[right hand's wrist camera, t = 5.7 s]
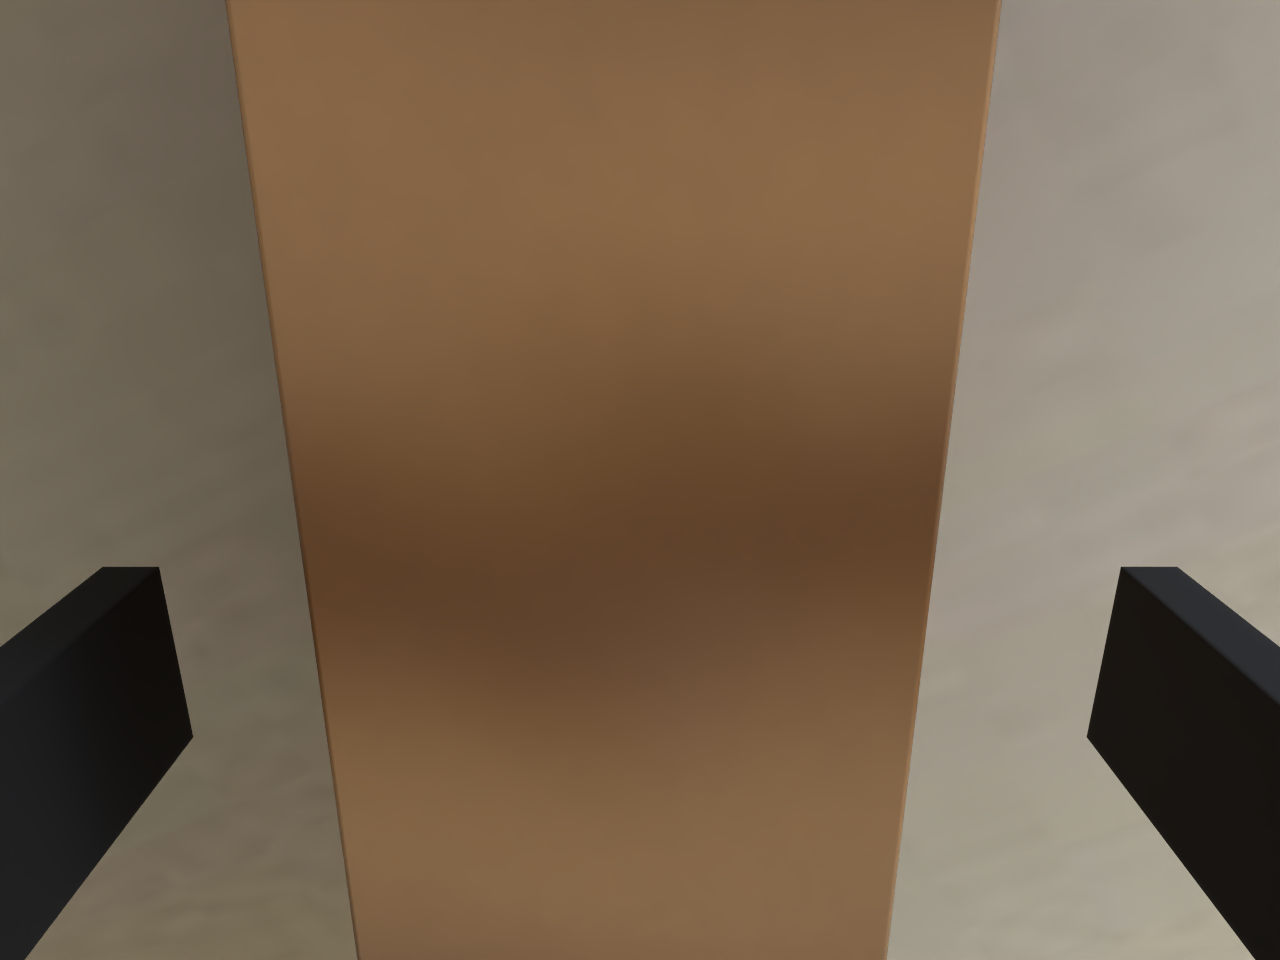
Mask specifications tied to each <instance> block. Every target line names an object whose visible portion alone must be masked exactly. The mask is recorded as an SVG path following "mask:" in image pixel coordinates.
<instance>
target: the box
mask: <svg viewBox="0 0 1280 960" xmlns="http://www.w3.org/2000/svg"><path fill="white" fill-rule="evenodd" d="M225 2H226V9H227V16H228V24H229V31H230V38H231V45H232V53H233V60H234V67H235V74H236V82H237V89H238V96H239V103H240V111H241V118H242V125H243V132H244V140H245V147H246V154H247V161H248V169H249V176H250V183H251V190H252V198H253V205H254V212H255V219H256V227H257V234H258V241H259V248H260V256H261V263H262V270H263V277H264V285H265V292H266V299H267V306H268V314H269V321H270V328H271V335H272V343H273V350H274V357H275V364H276V372H277V379H278V386H279V393H280V401H281V408H282V415H283V422H284V430H285V437H286V444H287V451H288V459H289V466H290V473H291V480H292V488H293V495H294V502H295V509H296V517H297V524H298V531H299V538H300V546H301V553H302V560H303V567H304V575H305V582H306V589H307V596H308V604H309V611H310V618H311V625H312V633H313V640H314V647H315V654H316V662H317V669H318V676H319V683H320V691H321V698H322V705H323V712H324V720H325V727H326V734H327V741H328V749H329V756H330V763H331V770H332V778H333V785H334V792H335V799H336V807H337V814H338V821H339V828H340V836H341V843H342V850H343V857H344V865H345V872H346V879H347V886H348V894H349V901H350V908H351V915H352V923H353V930H354V937H355V944H356V952H357V959H358V960H886V959H887V951H888V943H889V934H890V926H891V918H892V909H893V901H894V893H895V884H896V876H897V868H898V860H899V851H900V843H901V835H902V826H903V818H904V810H905V801H906V793H907V785H908V776H909V768H910V760H911V751H912V743H913V735H914V727H915V718H916V710H917V702H918V693H919V685H920V677H921V668H922V660H923V652H924V643H925V635H926V627H927V618H928V610H929V602H930V593H931V585H932V577H933V569H934V560H935V552H936V544H937V535H938V527H939V519H940V510H941V502H942V494H943V485H944V477H945V469H946V460H947V452H948V444H949V436H950V427H951V419H952V411H953V402H954V394H955V386H956V377H957V369H958V361H959V352H960V344H961V336H962V327H963V319H964V311H965V303H966V294H967V286H968V278H969V269H970V261H971V253H972V244H973V236H974V228H975V219H976V211H977V203H978V194H979V186H980V178H981V170H982V161H983V153H984V145H985V136H986V128H987V120H988V111H989V103H990V95H991V86H992V78H993V70H994V61H995V53H996V45H997V37H998V28H999V20H1000V12H1001V3H1002V0H225Z"/></svg>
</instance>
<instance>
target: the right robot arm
mask: <svg viewBox="0 0 1280 960" xmlns="http://www.w3.org/2000/svg"><path fill="white" fill-rule="evenodd" d="M192 738H193V734H192V729H191V724H190V719H189V714H188V709H187V704H186V699H185V694H184V689H183V684H182V679H181V674H180V669H179V664H178V659H177V654H176V649H175V644H174V639H173V634H172V629H171V624H170V619H169V614H168V609H167V604H166V599H165V595H164V590H163V585H162V580H161V575H160V570H159V567H102V568H101V569H100V570H98V571H97V572H96V573H94V574H93V575H92V576H91V577H89V578H88V579H87V580H85V581H84V582H83V583H82V584H80V585H79V586H78V587H77V588H75V589H74V590H73V591H71V592H70V593H69V594H68V595H66V596H65V597H64V598H62V599H61V600H60V601H59V602H57V603H56V604H55V605H53V606H52V607H51V608H50V609H48V610H47V611H46V612H45V613H43V614H42V615H41V616H39V617H38V618H37V619H36V620H34V621H33V622H32V623H30V624H29V625H28V626H27V627H25V628H24V629H23V630H22V631H20V632H19V633H18V634H16V635H15V636H14V637H13V638H11V639H10V640H9V641H7V642H6V643H5V644H4V645H2V646H1V647H0V960H25V958H26V957H27V956H28V955H29V953H30V952H31V951H32V949H33V948H34V947H35V945H36V944H37V943H38V941H39V940H40V939H41V937H42V936H43V935H44V933H45V932H46V931H47V929H48V928H49V927H50V925H51V924H52V923H53V921H54V920H55V919H56V918H57V916H58V915H59V914H60V912H61V911H62V910H63V908H64V907H65V906H66V904H67V903H68V902H69V900H70V899H71V898H72V896H73V895H74V894H75V892H76V891H77V890H78V888H79V887H80V886H81V885H82V883H83V882H84V881H85V879H86V878H87V877H88V875H89V874H90V873H91V871H92V870H93V869H94V867H95V866H96V865H97V863H98V862H99V861H100V859H101V858H102V857H103V855H104V854H105V853H106V851H107V850H108V849H109V848H110V846H111V845H112V844H113V842H114V841H115V840H116V838H117V837H118V836H119V834H120V833H121V832H122V830H123V829H124V828H125V826H126V825H127V824H128V822H129V821H130V820H131V818H132V817H133V816H134V814H135V813H136V812H137V811H138V809H139V808H140V807H141V805H142V804H143V803H144V801H145V800H146V799H147V797H148V796H149V795H150V793H151V792H152V791H153V789H154V788H155V787H156V785H157V784H158V783H159V781H160V780H161V779H162V778H163V776H164V775H165V774H166V772H167V771H168V770H169V768H170V767H171V766H172V764H173V763H174V762H175V760H176V759H177V758H178V756H179V755H180V754H181V752H182V751H183V750H184V748H185V747H186V746H187V744H188V743H189V742H190V741H191V739H192ZM1087 738H1088V739H1089V741H1090V742H1091V743H1092V744H1093V746H1094V747H1095V748H1096V750H1097V751H1098V752H1099V754H1100V755H1101V756H1102V758H1103V759H1104V760H1105V762H1106V763H1107V764H1108V766H1109V767H1110V768H1111V770H1112V771H1113V772H1114V774H1115V775H1116V776H1117V778H1118V779H1119V780H1120V781H1121V783H1122V784H1123V785H1124V787H1125V788H1126V789H1127V791H1128V792H1129V793H1130V795H1131V796H1132V797H1133V799H1134V800H1135V801H1136V803H1137V804H1138V805H1139V807H1140V808H1141V809H1142V811H1143V812H1144V813H1145V814H1146V816H1147V817H1148V818H1149V820H1150V821H1151V822H1152V824H1153V825H1154V826H1155V828H1156V829H1157V830H1158V832H1159V833H1160V834H1161V836H1162V837H1163V838H1164V840H1165V841H1166V842H1167V844H1168V845H1169V846H1170V848H1171V849H1172V850H1173V851H1174V853H1175V854H1176V855H1177V857H1178V858H1179V859H1180V861H1181V862H1182V863H1183V865H1184V866H1185V867H1186V869H1187V870H1188V871H1189V873H1190V874H1191V875H1192V877H1193V878H1194V879H1195V881H1196V882H1197V883H1198V885H1199V886H1200V887H1201V888H1202V890H1203V891H1204V892H1205V894H1206V895H1207V896H1208V898H1209V899H1210V900H1211V902H1212V903H1213V904H1214V906H1215V907H1216V908H1217V910H1218V911H1219V912H1220V914H1221V915H1222V916H1223V918H1224V919H1225V920H1226V921H1227V923H1228V924H1229V925H1230V927H1231V928H1232V929H1233V931H1234V932H1235V933H1236V935H1237V936H1238V937H1239V939H1240V940H1241V941H1242V943H1243V944H1244V945H1245V947H1246V948H1247V949H1248V951H1249V952H1250V953H1251V955H1252V956H1253V957H1254V958H1255V960H1280V647H1279V646H1278V645H1276V644H1275V643H1274V642H1273V641H1271V640H1270V639H1269V638H1267V637H1266V636H1265V635H1264V634H1262V633H1261V632H1260V631H1258V630H1257V629H1256V628H1255V627H1253V626H1252V625H1251V624H1250V623H1248V622H1247V621H1246V620H1244V619H1243V618H1242V617H1241V616H1239V615H1238V614H1237V613H1235V612H1234V611H1233V610H1232V609H1230V608H1229V607H1228V606H1227V605H1225V604H1224V603H1223V602H1221V601H1220V600H1219V599H1218V598H1216V597H1215V596H1214V595H1212V594H1211V593H1210V592H1209V591H1207V590H1206V589H1205V588H1203V587H1202V586H1201V585H1200V584H1198V583H1197V582H1196V581H1195V580H1193V579H1192V578H1191V577H1189V576H1188V575H1187V574H1186V573H1184V572H1183V571H1182V570H1180V569H1179V568H1178V567H1121V570H1120V575H1119V580H1118V585H1117V590H1116V594H1115V599H1114V604H1113V609H1112V614H1111V619H1110V624H1109V629H1108V634H1107V639H1106V644H1105V649H1104V654H1103V659H1102V664H1101V669H1100V674H1099V679H1098V684H1097V689H1096V694H1095V699H1094V704H1093V709H1092V714H1091V719H1090V724H1089V729H1088V734H1087Z"/></svg>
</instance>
